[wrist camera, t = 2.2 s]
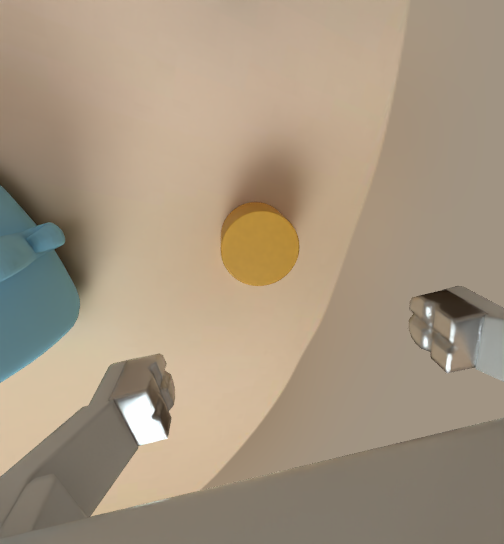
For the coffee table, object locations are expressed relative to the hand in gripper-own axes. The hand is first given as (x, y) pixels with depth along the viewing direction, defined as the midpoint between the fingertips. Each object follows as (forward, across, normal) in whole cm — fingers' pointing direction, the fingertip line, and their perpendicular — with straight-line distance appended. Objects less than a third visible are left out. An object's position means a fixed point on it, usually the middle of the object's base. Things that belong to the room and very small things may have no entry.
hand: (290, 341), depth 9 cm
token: (+13, 0, 0) cm, 13 cm away
